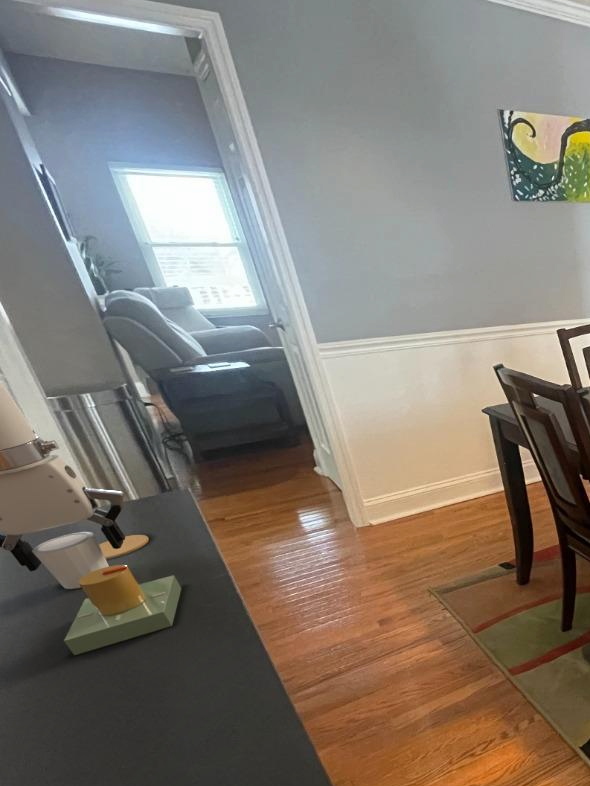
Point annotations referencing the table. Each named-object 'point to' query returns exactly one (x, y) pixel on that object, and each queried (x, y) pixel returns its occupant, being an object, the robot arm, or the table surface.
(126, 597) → the tap handle
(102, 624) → the base
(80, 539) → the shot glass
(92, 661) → the table surface
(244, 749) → the table surface
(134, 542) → the coaster
